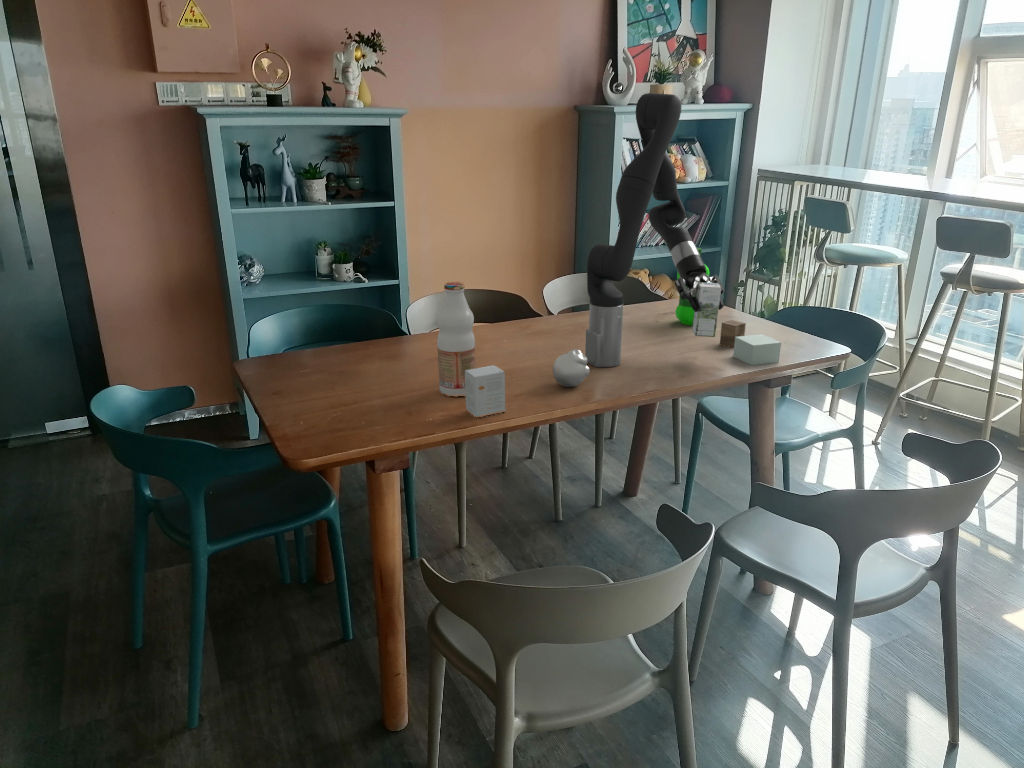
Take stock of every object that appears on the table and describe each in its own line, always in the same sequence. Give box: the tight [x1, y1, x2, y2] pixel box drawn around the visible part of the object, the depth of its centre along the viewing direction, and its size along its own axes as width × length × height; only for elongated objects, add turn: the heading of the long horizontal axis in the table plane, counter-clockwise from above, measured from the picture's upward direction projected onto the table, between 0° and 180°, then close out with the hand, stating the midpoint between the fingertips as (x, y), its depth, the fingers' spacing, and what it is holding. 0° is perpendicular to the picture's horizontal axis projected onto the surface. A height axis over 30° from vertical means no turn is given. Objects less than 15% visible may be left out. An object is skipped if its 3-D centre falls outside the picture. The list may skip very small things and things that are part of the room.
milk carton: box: [691, 283, 721, 338], centre depth 210 cm, size 6×6×14 cm
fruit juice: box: [436, 281, 477, 395], centre depth 187 cm, size 9×9×28 cm
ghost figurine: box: [552, 348, 591, 388], centre depth 193 cm, size 9×10×10 cm
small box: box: [465, 364, 506, 417], centre depth 176 cm, size 8×6×10 cm
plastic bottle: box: [674, 247, 710, 326], centre depth 248 cm, size 10×10×25 cm
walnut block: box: [719, 319, 747, 349], centre depth 227 cm, size 5×5×7 cm
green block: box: [733, 333, 782, 366], centre depth 214 cm, size 9×9×6 cm
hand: (709, 309), depth 208 cm, fingers closed on milk carton, 7 cm apart
